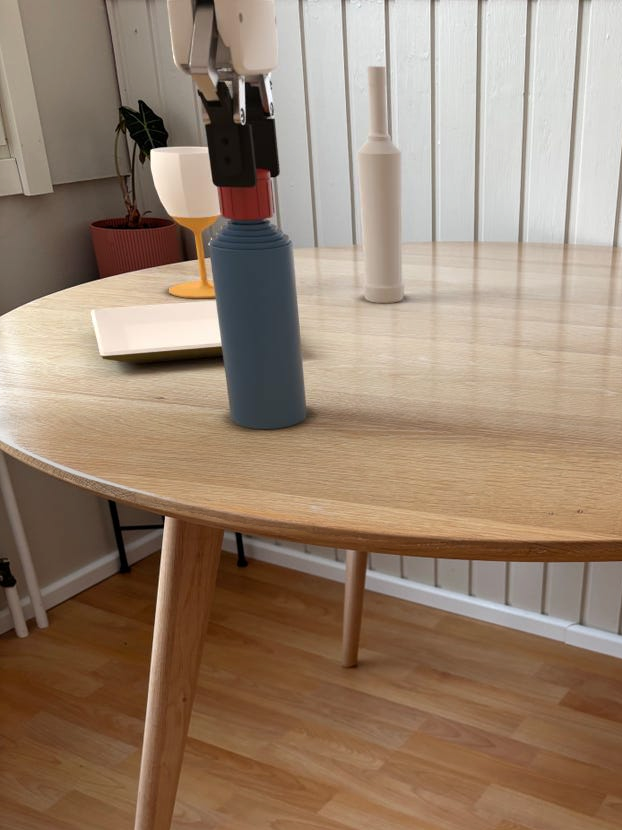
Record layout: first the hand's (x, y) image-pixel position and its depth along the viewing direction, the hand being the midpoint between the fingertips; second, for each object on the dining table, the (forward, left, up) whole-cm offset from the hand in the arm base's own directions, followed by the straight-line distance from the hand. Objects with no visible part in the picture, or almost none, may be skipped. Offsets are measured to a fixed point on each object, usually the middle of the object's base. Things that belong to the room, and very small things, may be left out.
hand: (247, 178), depth 71 cm
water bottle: (0, 0, -19) cm, 19 cm away
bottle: (+24, +38, -19) cm, 49 cm away
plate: (-2, +26, -19) cm, 32 cm away
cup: (+4, +50, -19) cm, 54 cm away
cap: (0, 0, -3) cm, 3 cm away
